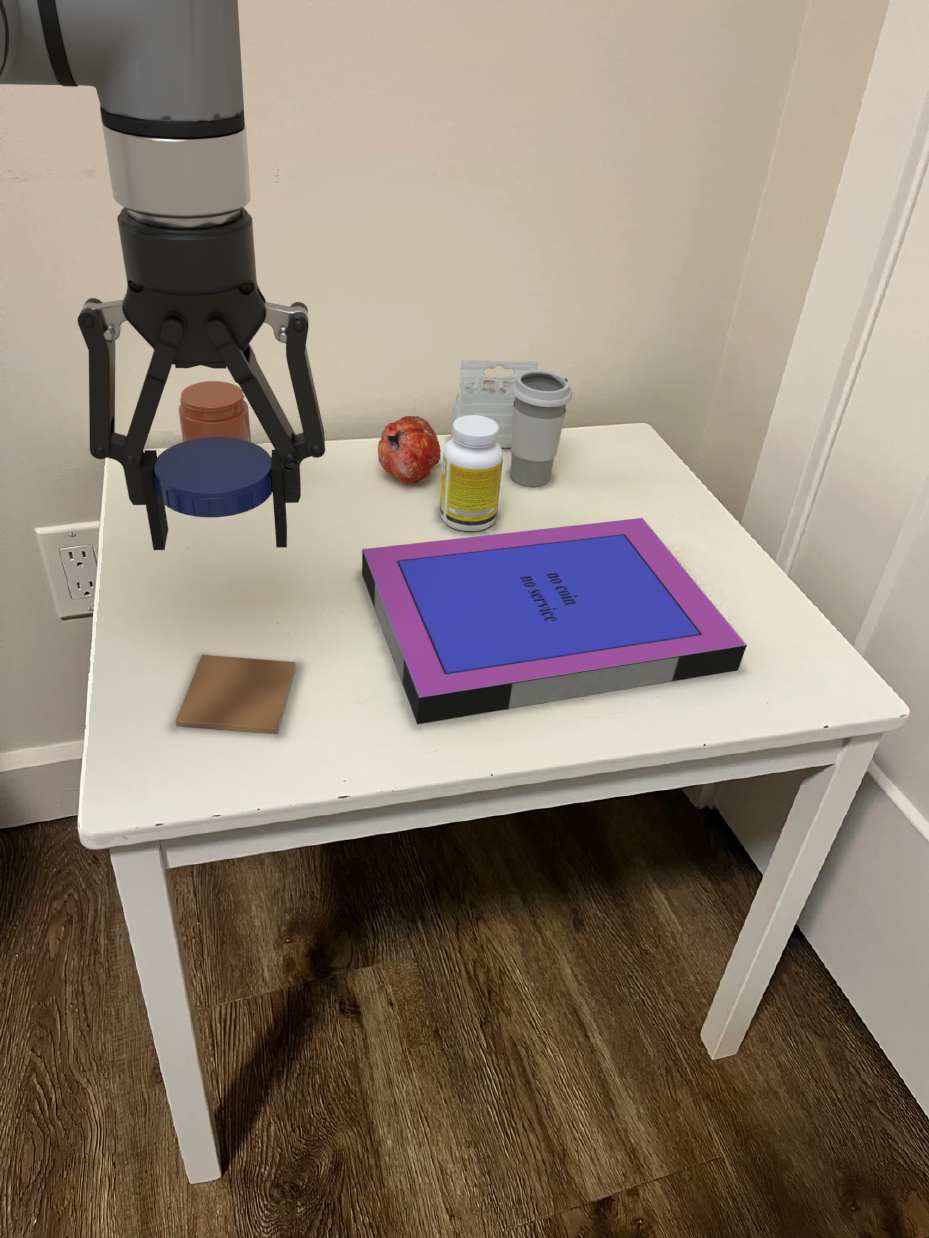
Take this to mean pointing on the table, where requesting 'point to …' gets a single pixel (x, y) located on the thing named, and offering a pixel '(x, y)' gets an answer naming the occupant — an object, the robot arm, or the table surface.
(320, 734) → the table surface
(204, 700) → the cork mat
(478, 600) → the book
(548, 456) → the cup
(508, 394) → the ink box
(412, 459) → the pomegranate
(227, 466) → the lid
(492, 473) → the pill bottle
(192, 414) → the jar
